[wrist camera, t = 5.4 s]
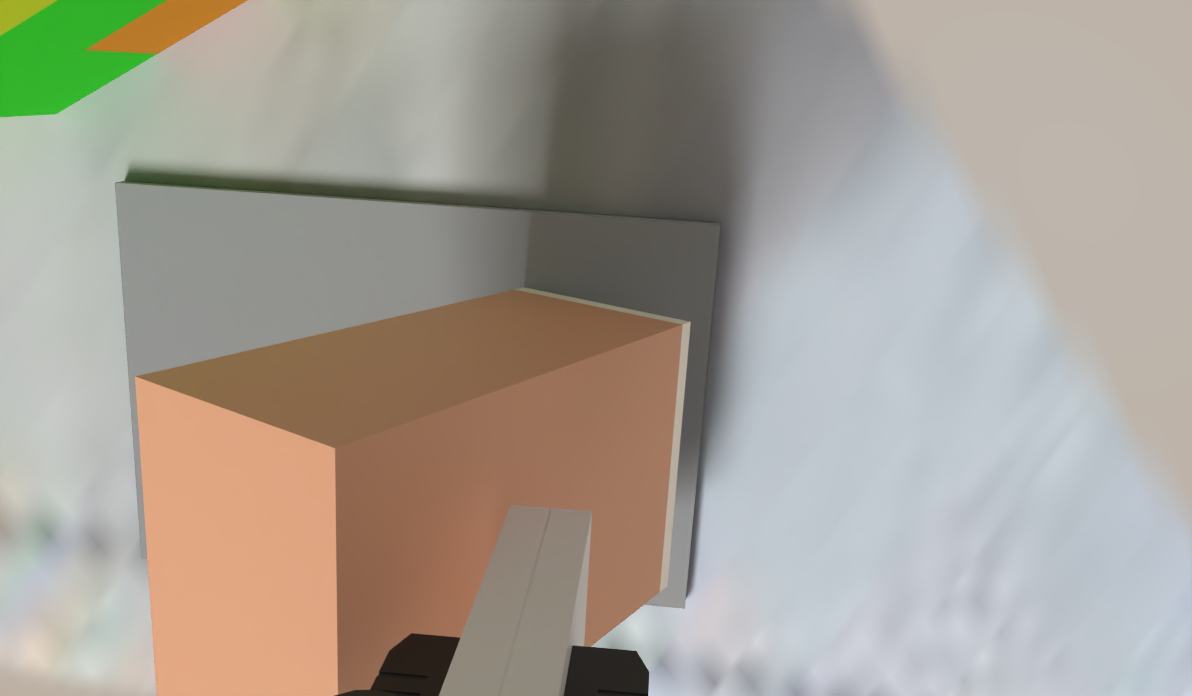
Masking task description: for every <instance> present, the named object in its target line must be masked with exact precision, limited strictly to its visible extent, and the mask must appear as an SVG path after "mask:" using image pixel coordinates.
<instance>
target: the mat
mask: <svg viewBox="0 0 1192 696" xmlns="http://www.w3.org/2000/svg"><path fill="white" fill-rule="evenodd" d="M115 190H116V204H117V218H118V232H119V247H120V261H121V275H122V289H123V304H124V318H125V332H126V346H127V361H128V375H129V389H130V403H131V418H132V432H133V446H134V460H135V475H136V489H137V503H138V517H139V531H140V546H141V559H147V545H146V530H145V516H144V501H143V486H142V472H141V457H140V443H139V428H138V413H137V399H136V384H135V376H139V375H143V374H148V373H152V372H157V371H161V370H165V369H170V368H174V367H178V366H183V365H187V364H191V363H196V362H200V361H205V360H209V359H213V358H218V357H222V356H226V355H231V354H235V353H239V352H244V351H248V350H253V349H257V348H261V347H266V346H270V345H274V344H279V343H283V342H287V341H292V340H296V339H301V338H305V337H309V336H314V335H318V334H322V333H327V332H331V331H335V330H340V329H344V328H348V327H353V326H357V325H362V324H366V323H370V322H375V321H379V320H383V319H388V318H392V317H396V316H401V315H405V314H410V313H414V312H418V311H423V310H427V309H431V308H436V307H440V306H444V305H449V304H453V303H458V302H462V301H466V300H471V299H475V298H479V297H484V296H488V295H492V294H497V293H501V292H506V291H510V290H514V289H519V288H523V287H525V288H530V289H534V290H539V291H544V292H549V293H554V294H559V295H564V296H568V297H573V298H578V299H583V300H588V301H593V302H597V303H602V304H607V305H612V306H617V307H622V308H626V309H631V310H636V311H641V312H646V313H651V314H656V315H660V316H665V317H670V318H675V319H680V320H685V321H689V322H691V325H690V336H689V347H688V359H687V370H686V381H685V393H684V404H683V415H682V427H681V438H680V449H679V460H678V472H677V483H676V494H675V506H674V517H673V528H672V540H671V551H670V562H669V574H668V585H667V587H666V588H664V589H663V590H662V591H661V592H659V593H658V594H657V595H656V596H654V597H653V598H652V599H650V600H649V601H648V602H647V603H645V604H644V605H652V606H663V607H674V608H685V600H686V590H687V579H688V568H689V558H690V547H691V537H692V526H693V515H694V505H695V494H696V483H697V473H698V462H699V452H700V441H701V430H702V420H703V409H704V398H705V388H706V377H707V367H708V356H709V345H710V335H711V324H712V313H713V303H714V292H715V282H716V271H717V260H718V250H719V239H720V228H721V224H720V223H712V222H698V221H684V220H669V219H655V218H641V217H626V216H612V215H598V214H584V213H569V212H555V211H541V210H526V209H512V208H498V207H484V206H469V205H455V204H441V203H426V202H412V201H398V200H384V199H369V198H355V197H341V196H326V195H312V194H298V193H284V192H269V191H255V190H241V189H226V188H212V187H198V186H184V185H169V184H155V183H141V182H126V181H122V182H116V183H115Z"/></svg>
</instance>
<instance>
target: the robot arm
mask: <svg viewBox="0 0 1192 696" xmlns="http://www.w3.org/2000/svg"><path fill="white" fill-rule="evenodd" d="M591 521H592V511H585V510H572V509H560V508H548V507H536V506H524V505H512V504H511V505H510V508H509V511H508V513H507V516H506V519H505V521H504V524H503V526H502V529H501V532H500V534H499V537H498V540H497V542H496V545H495V548H494V550H493V553H492V556H491V558H490V561H489V564H488V566H487V569H486V572H485V574H484V577H483V580H482V582H481V585H480V588H479V590H478V593H477V596H476V598H475V601H474V604H473V606H472V609H471V611H470V614H469V617H468V619H467V622H466V625H465V627H464V630H463V633H462V635H461V638H459V637H448V636H437V635H426V634H415V633H411V634H410V635H408V636H407V637H406V638H405V639H403V640H402V641H401V642H400V643H398V644H397V645H396V646H394V647H393V648H392V649H391V650H389V652H388V654H387V656H386V658H385V660H384V662H383V664H382V666H381V668H380V670H379V675H378V676H376V679H375V681H374V683H373V685H372V687H371V689H370V690H353V691H350V692H346V693H342V694H338V695H335V696H648V685H649V671H648V669H647V668H646V666H645V665H644V663H643V661H642V660H641V658H640V656H639V655H638V653H637V651H629V650H618V649H607V648H596V647H585V646H584V639H585V622H586V605H587V589H588V572H589V555H590V538H591Z"/></svg>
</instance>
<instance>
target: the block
mask: <svg viewBox="0 0 1192 696" xmlns="http://www.w3.org/2000/svg"><path fill="white" fill-rule="evenodd" d="M690 325H691V322H689V321H685V320H680V319H675V318H670V317H665V316H660V315H656V314H651V313H646V312H641V311H636V310H631V309H626V308H622V307H617V306H612V305H607V304H602V303H597V302H593V301H588V300H583V299H578V298H573V297H568V296H564V295H559V294H554V293H549V292H544V291H539V290H534V289H530V288H525V287H523V288H519V289H514V290H510V291H506V292H501V293H497V294H492V295H488V296H484V297H479V298H475V299H471V300H466V301H462V302H458V303H453V304H449V305H444V306H440V307H436V308H431V309H427V310H423V311H418V312H414V313H410V314H405V315H401V316H396V317H392V318H388V319H383V320H379V321H375V322H370V323H366V324H362V325H357V326H353V327H348V328H344V329H340V330H335V331H331V332H327V333H322V334H318V335H314V336H309V337H305V338H301V339H296V340H292V341H287V342H283V343H279V344H274V345H270V346H266V347H261V348H257V349H253V350H248V351H244V352H239V353H235V354H231V355H226V356H222V357H218V358H213V359H209V360H205V361H200V362H196V363H191V364H187V365H183V366H178V367H174V368H170V369H165V370H161V371H157V372H152V373H148V374H143V375H139V376H135V384H136V399H137V413H138V428H139V443H140V457H141V472H142V486H143V501H144V516H145V530H146V545H147V560H148V574H149V589H150V603H151V618H152V633H153V647H154V662H155V677H156V691H157V696H335V695H338V694H342V693H346V692H350V691H353V690H370V689H371V687H372V685H373V683H374V681H375V679H376V676H378V675H379V670H380V668H381V666H382V664H383V662H384V660H385V658H386V656H387V654H388V652H389V650H391V649H392V648H393V647H394V646H396V645H397V644H398V643H400V642H401V641H402V640H403V639H405V638H406V637H407V636H408V635H410V634H411V633H415V634H426V635H437V636H448V637H459V638H461V635H462V633H463V630H464V627H465V625H466V622H467V619H468V617H469V614H470V611H471V609H472V606H473V604H474V601H475V598H476V596H477V593H478V590H479V588H480V585H481V582H482V580H483V577H484V574H485V572H486V569H487V566H488V564H489V561H490V558H491V556H492V553H493V550H494V548H495V545H496V542H497V540H498V537H499V534H500V532H501V529H502V526H503V524H504V521H505V519H506V516H507V513H508V511H509V508H510V505H511V504H512V505H524V506H536V507H548V508H560V509H572V510H585V511H592V521H591V538H590V555H589V572H588V589H587V605H586V622H585V639H584V646H585V647H590V646H592V645H593V644H594V643H596V642H597V641H598V640H599V639H601V638H602V637H603V636H605V635H606V634H607V633H608V632H610V631H611V630H612V629H613V628H615V627H616V626H617V625H619V624H620V623H621V622H622V621H624V620H625V619H626V618H627V617H629V616H630V615H631V614H633V613H634V612H635V611H636V610H638V609H639V608H640V607H641V606H643V605H644V604H645V603H647V602H648V601H649V600H650V599H652V598H653V597H654V596H656V595H657V594H658V593H659V592H661V591H662V590H663V589H664V588H666V587H667V585H668V574H669V562H670V551H671V540H672V528H673V517H674V506H675V494H676V483H677V472H678V460H679V449H680V438H681V427H682V415H683V404H684V393H685V381H686V370H687V359H688V347H689V336H690Z"/></svg>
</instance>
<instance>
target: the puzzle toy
mask: <svg viewBox="0 0 1192 696" xmlns="http://www.w3.org/2000/svg"><path fill="white" fill-rule="evenodd" d="M245 1H247V0H0V117H11V116H29V115H48V114H57V113H59V112H60V111H62V110H64V109H65V108H67V107H69V106H70V105H72V104H74V103H75V102H77V101H79V100H80V99H82V98H84V97H85V96H87V95H89V94H91V93H92V92H94V91H96V90H97V89H99V88H101V87H102V86H104V85H106V84H107V83H109V82H111V81H112V80H114V79H116V78H117V77H119V76H121V75H122V74H124V73H126V72H128V71H129V70H131V69H133V68H134V67H136V66H138V65H139V64H141V63H143V62H144V61H146V60H148V59H149V58H151V57H153V56H154V55H156V54H158V53H159V52H161V51H163V50H165V49H166V48H168V47H170V46H171V45H173V44H175V43H176V42H178V41H180V40H181V39H183V38H185V37H186V36H188V35H190V34H191V33H193V32H195V31H196V30H198V29H200V28H202V27H203V26H205V25H207V24H208V23H210V22H212V21H213V20H215V19H217V18H218V17H220V16H222V15H223V14H225V13H227V12H228V11H230V10H232V9H233V8H235V7H237V6H239V5H240V4H242V3H244V2H245Z"/></svg>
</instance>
